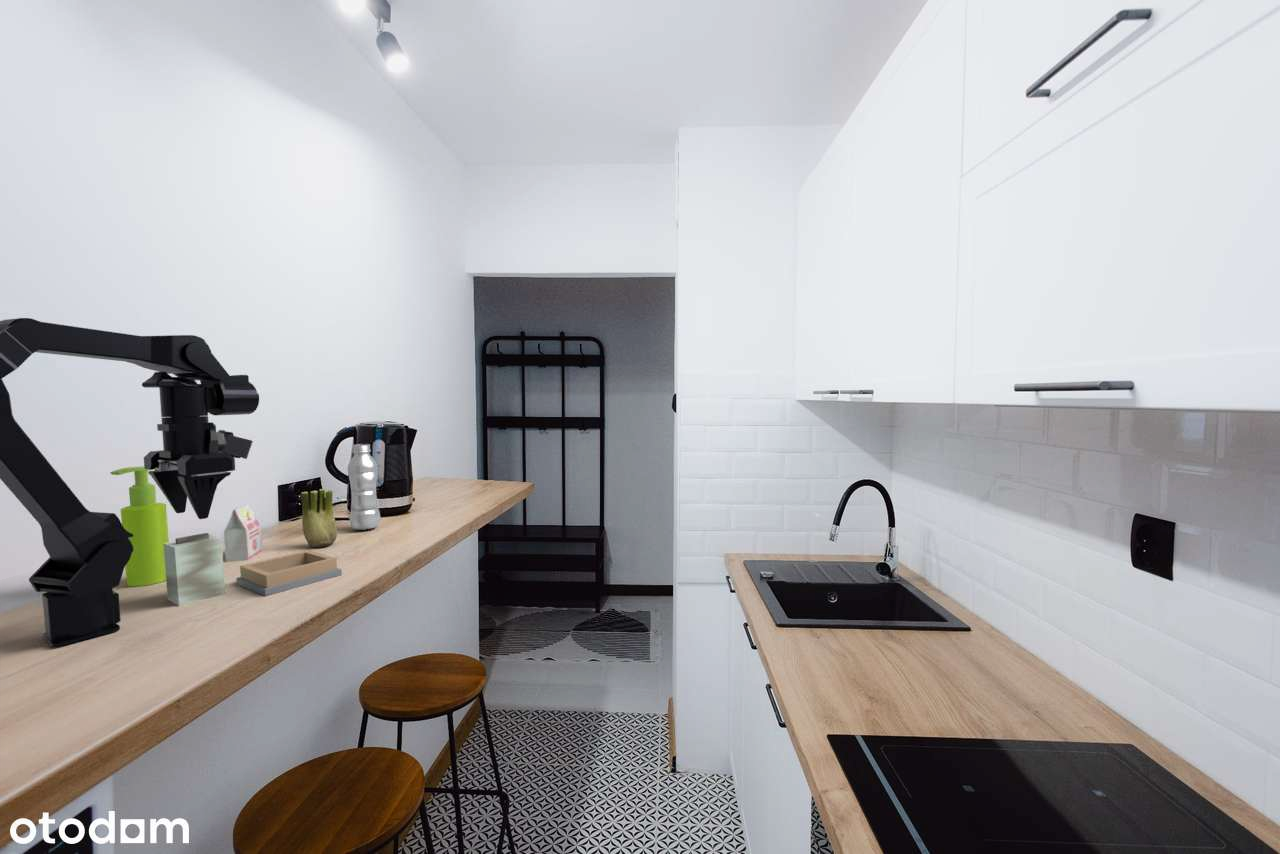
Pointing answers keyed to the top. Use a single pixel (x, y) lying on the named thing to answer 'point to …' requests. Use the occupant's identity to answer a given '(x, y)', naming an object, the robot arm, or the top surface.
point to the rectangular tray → (287, 572)
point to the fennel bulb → (318, 518)
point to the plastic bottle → (363, 489)
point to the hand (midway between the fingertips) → (191, 515)
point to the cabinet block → (194, 568)
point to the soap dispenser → (144, 531)
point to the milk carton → (242, 535)
